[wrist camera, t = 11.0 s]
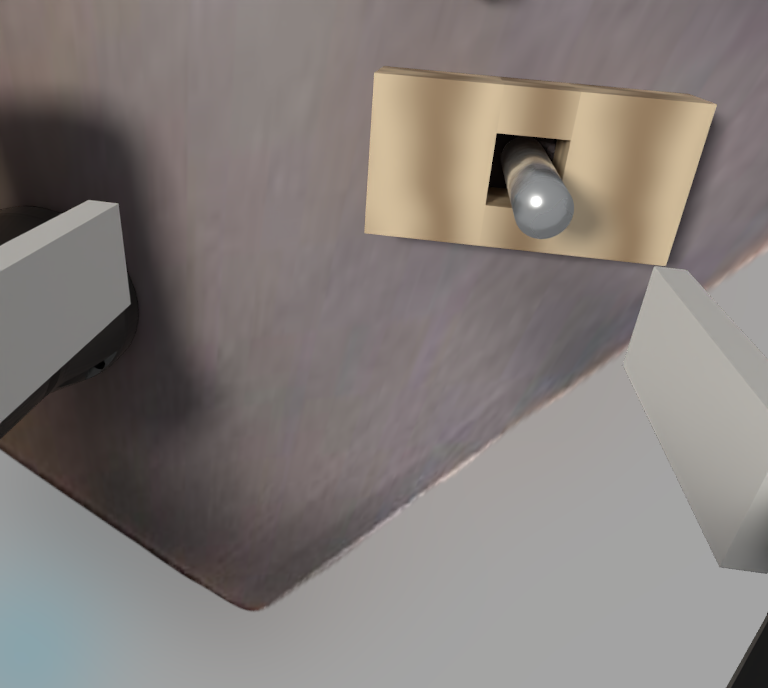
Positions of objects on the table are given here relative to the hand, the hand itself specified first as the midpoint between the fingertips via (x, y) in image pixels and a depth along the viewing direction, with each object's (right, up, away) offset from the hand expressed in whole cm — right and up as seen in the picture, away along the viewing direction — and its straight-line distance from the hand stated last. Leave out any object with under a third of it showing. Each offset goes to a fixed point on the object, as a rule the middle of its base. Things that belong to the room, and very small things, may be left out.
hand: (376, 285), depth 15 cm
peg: (+10, +12, +28) cm, 32 cm away
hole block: (+10, +12, +28) cm, 31 cm away
